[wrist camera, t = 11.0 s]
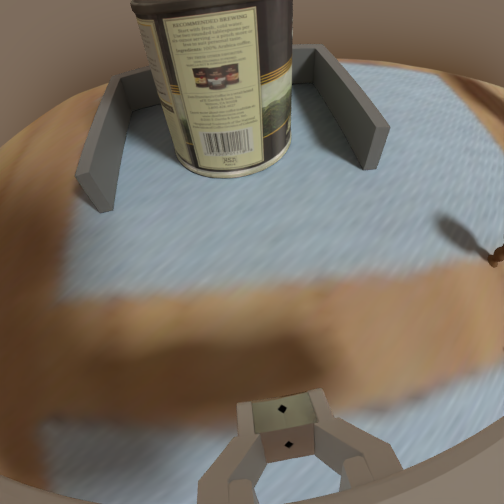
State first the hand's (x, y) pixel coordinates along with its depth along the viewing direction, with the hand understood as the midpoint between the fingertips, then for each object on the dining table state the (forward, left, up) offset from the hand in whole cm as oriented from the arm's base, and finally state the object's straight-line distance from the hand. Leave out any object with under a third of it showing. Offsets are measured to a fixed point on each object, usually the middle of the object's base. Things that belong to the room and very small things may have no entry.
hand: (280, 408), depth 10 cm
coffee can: (0, +21, -6) cm, 22 cm away
